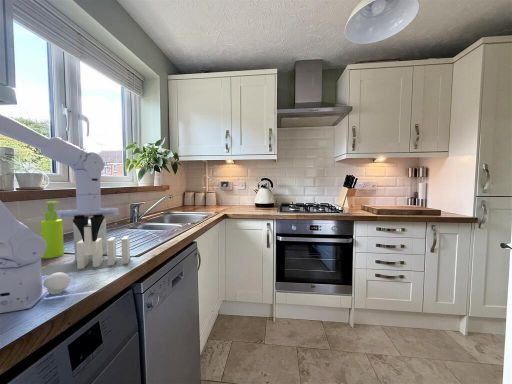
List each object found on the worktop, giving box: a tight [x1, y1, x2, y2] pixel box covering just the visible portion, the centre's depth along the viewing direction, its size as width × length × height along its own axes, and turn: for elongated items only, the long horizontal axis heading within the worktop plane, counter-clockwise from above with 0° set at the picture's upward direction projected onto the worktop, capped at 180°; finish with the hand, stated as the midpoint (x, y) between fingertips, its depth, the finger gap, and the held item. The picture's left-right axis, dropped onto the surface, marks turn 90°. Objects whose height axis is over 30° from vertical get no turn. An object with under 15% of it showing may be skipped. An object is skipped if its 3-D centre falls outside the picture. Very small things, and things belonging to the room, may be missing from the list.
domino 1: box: [76, 240, 89, 269], centre depth 73 cm, size 5×2×8 cm, turn 21°
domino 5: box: [121, 235, 131, 264], centre depth 77 cm, size 5×2×8 cm, turn 21°
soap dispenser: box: [40, 200, 65, 259], centre depth 83 cm, size 6×7×20 cm
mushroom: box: [42, 272, 71, 296], centre depth 56 cm, size 5×5×5 cm
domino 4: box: [106, 236, 118, 265], centre depth 76 cm, size 5×2×8 cm, turn 21°
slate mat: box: [41, 256, 132, 277], centre depth 73 cm, size 9×24×1 cm, turn 111°
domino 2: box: [84, 223, 96, 255], centre depth 67 cm, size 5×2×8 cm, turn 21°
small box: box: [72, 218, 108, 261], centre depth 83 cm, size 8×6×13 cm
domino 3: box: [92, 238, 104, 267], centre depth 74 cm, size 5×2×8 cm, turn 21°
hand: (90, 241), depth 67 cm, fingers closed on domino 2, 1 cm apart
